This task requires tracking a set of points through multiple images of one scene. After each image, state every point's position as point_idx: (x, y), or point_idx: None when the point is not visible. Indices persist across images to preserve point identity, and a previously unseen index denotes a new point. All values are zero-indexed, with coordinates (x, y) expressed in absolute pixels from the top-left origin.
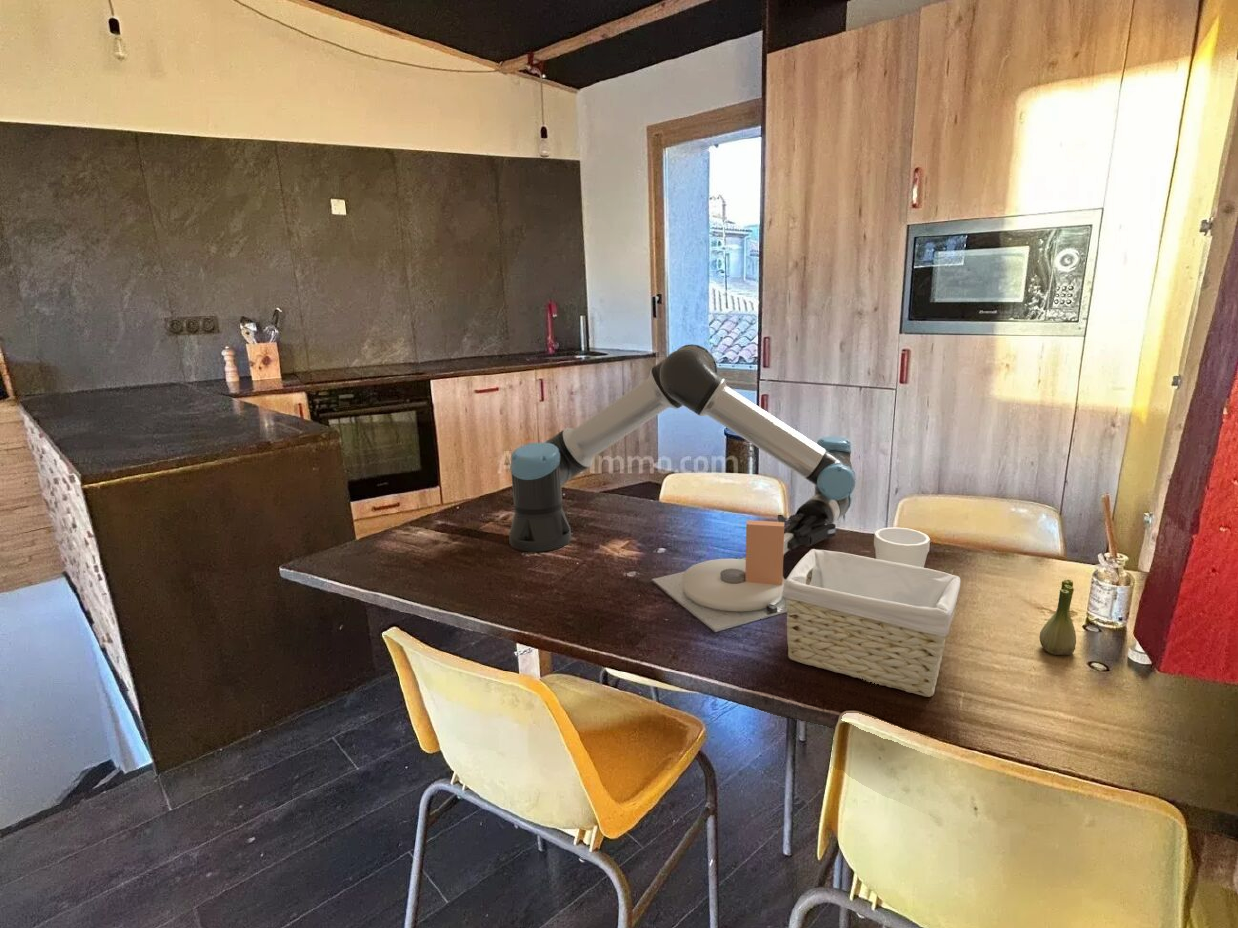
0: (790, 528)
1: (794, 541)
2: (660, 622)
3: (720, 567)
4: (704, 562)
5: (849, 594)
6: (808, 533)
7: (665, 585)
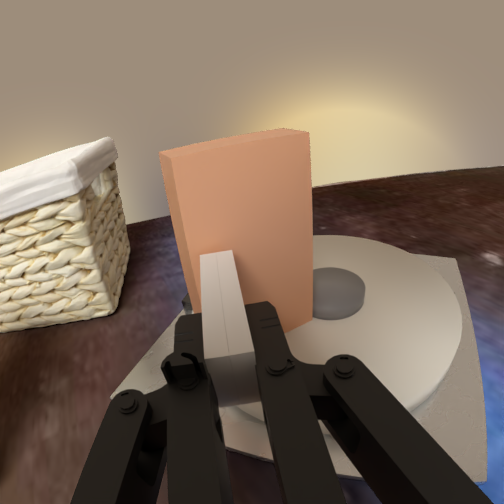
0: (284, 439)
1: (176, 331)
2: (321, 222)
3: (406, 313)
4: (454, 305)
5: (41, 157)
6: (124, 428)
7: (421, 259)
